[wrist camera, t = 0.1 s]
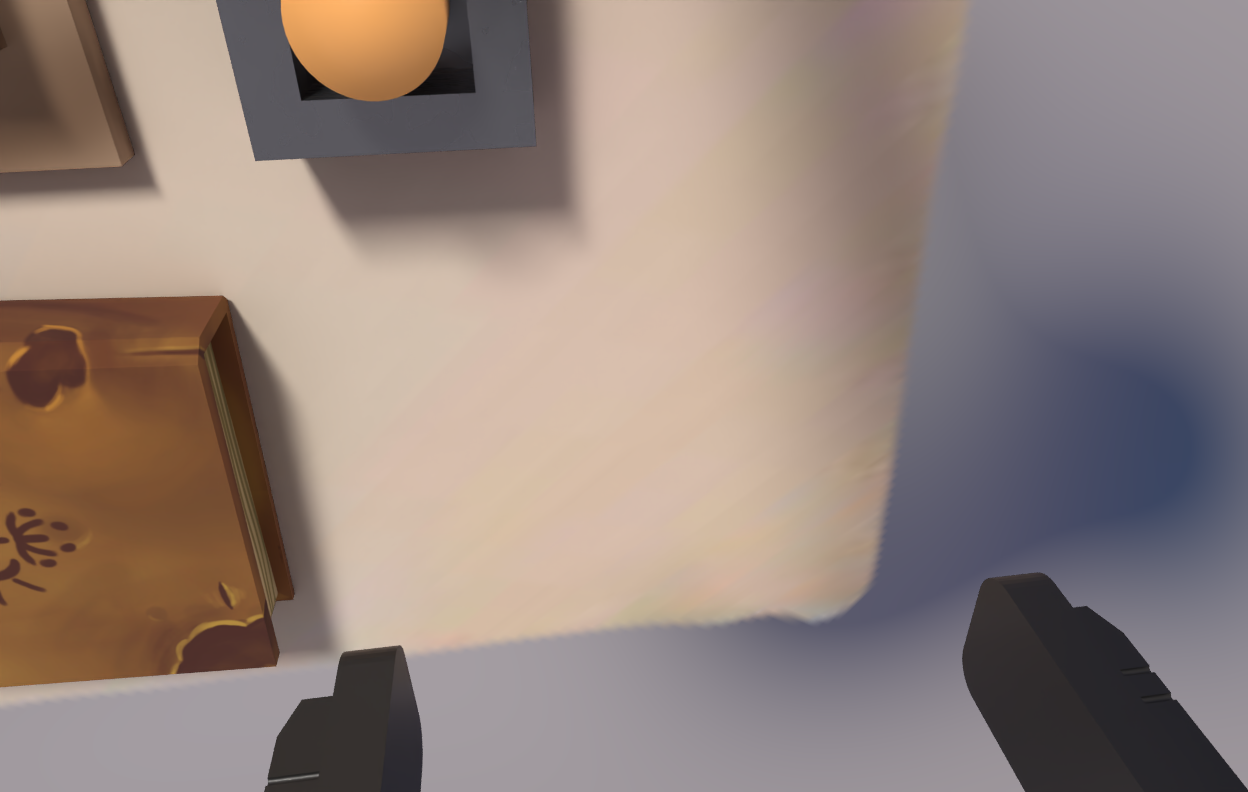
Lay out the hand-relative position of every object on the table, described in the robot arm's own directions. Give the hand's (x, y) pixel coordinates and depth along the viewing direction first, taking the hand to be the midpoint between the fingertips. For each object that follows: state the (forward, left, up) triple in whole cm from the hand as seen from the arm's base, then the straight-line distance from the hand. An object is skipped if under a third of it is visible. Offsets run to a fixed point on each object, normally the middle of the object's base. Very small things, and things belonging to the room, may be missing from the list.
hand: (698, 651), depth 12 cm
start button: (-5, -6, -25) cm, 26 cm away
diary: (+16, -27, -30) cm, 43 cm away
